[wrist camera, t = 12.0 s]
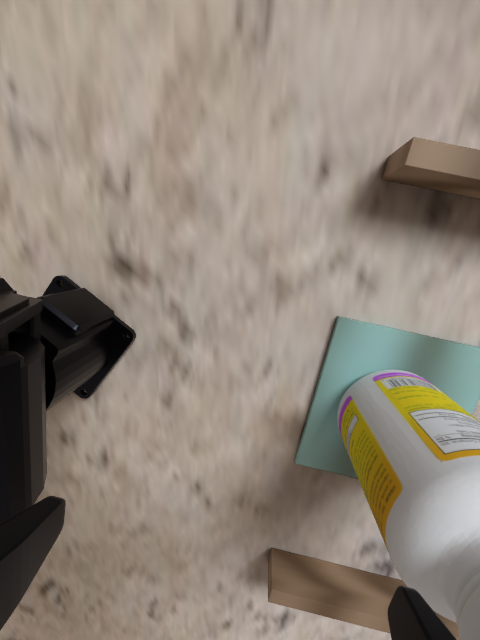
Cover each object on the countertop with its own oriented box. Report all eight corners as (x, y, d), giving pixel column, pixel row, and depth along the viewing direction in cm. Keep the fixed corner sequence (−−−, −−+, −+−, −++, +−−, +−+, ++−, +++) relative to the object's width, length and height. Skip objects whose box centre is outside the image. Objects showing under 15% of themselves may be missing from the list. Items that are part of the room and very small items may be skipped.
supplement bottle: (371, 472, 21) (521, 793, 9) (315, 402, 20) (390, 646, 8) (459, 421, 20) (792, 719, 7) (402, 345, 19) (665, 530, 6)
